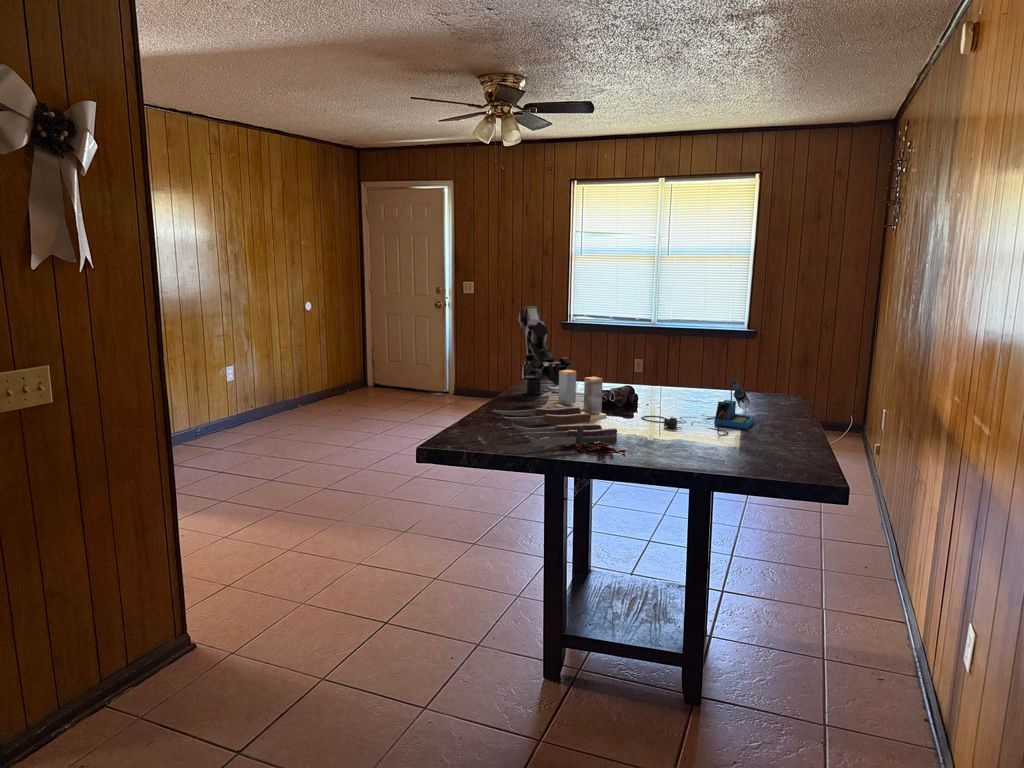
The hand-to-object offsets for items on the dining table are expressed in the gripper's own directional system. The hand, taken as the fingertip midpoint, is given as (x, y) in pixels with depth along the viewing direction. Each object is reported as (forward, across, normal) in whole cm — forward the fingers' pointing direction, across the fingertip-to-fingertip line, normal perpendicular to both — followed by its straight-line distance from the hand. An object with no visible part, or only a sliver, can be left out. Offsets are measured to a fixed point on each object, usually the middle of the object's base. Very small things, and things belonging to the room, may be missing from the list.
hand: (557, 384), depth 259 cm
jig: (+14, +2, +2) cm, 14 cm away
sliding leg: (+8, +2, -1) cm, 9 cm away
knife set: (+29, +27, +17) cm, 43 cm away
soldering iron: (+37, -26, +24) cm, 51 cm away
